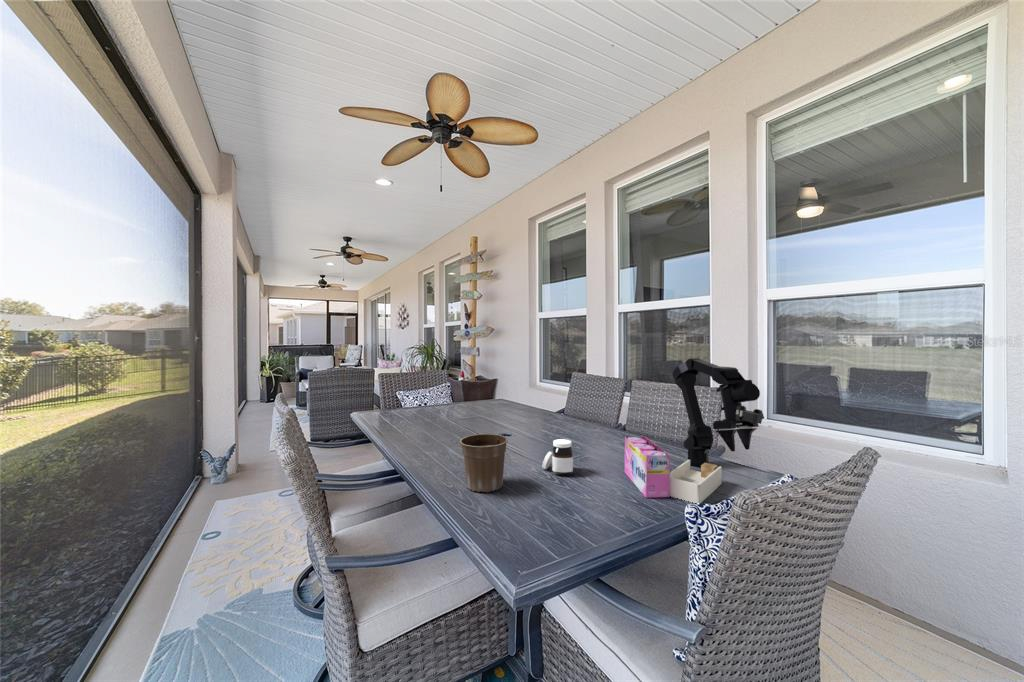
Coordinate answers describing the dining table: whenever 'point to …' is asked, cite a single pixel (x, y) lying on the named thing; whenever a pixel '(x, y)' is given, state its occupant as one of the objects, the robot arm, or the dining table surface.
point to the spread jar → (560, 457)
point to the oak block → (707, 469)
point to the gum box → (647, 466)
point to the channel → (693, 483)
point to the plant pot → (484, 461)
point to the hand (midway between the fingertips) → (740, 450)
